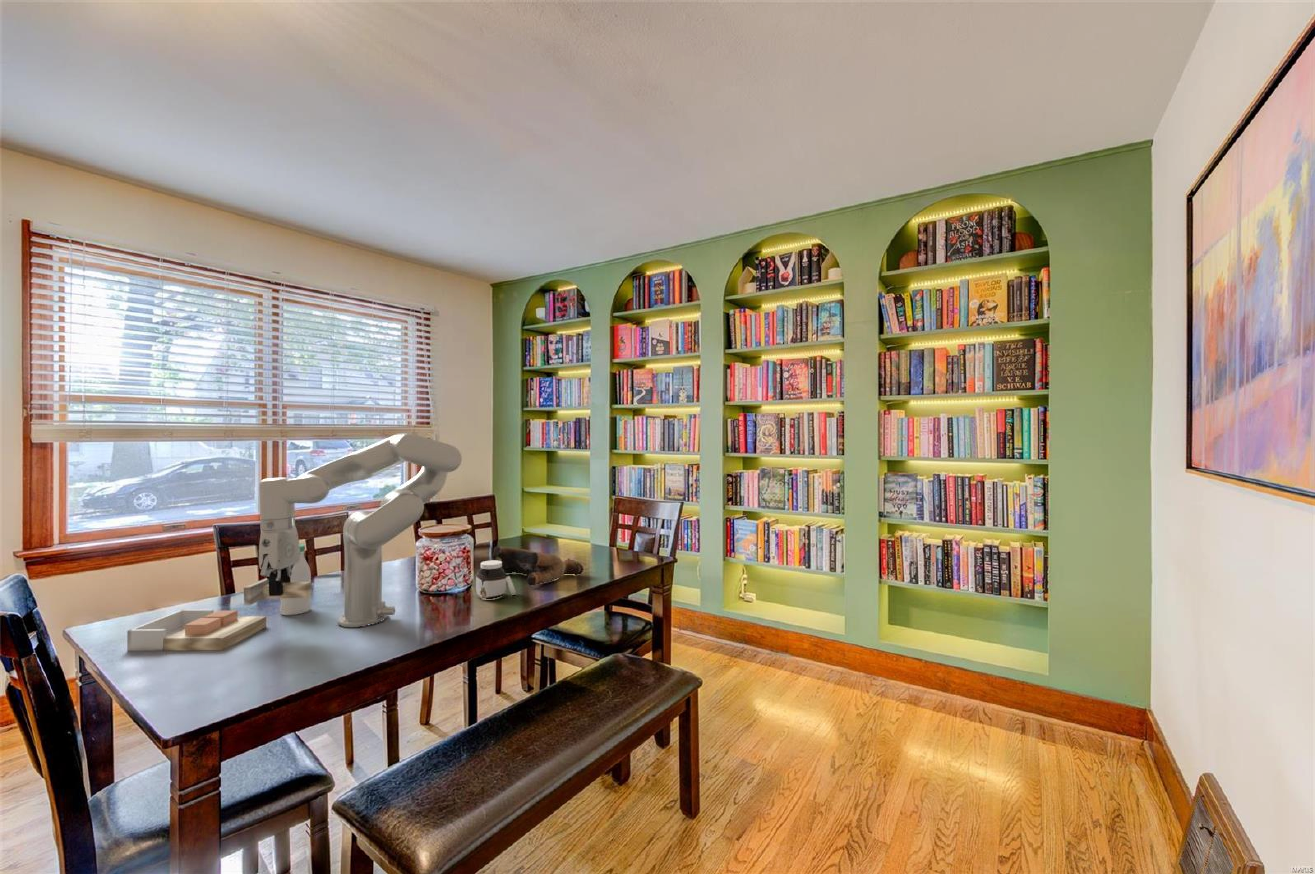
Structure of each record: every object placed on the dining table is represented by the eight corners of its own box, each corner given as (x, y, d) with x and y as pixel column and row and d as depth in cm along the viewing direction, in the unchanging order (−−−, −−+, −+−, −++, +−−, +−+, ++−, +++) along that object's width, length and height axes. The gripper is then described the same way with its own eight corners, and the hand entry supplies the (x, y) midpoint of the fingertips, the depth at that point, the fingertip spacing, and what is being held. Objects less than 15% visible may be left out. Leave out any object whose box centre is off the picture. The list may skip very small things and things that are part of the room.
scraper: (322, 589, 149) (321, 573, 149) (294, 603, 137) (294, 586, 137) (275, 590, 149) (275, 574, 148) (244, 604, 137) (243, 587, 136)
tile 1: (220, 627, 141) (220, 617, 141) (205, 634, 136) (205, 624, 136) (200, 627, 141) (201, 617, 141) (185, 634, 136) (185, 624, 136)
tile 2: (237, 619, 147) (237, 610, 147) (223, 625, 142) (223, 616, 142) (218, 619, 147) (218, 610, 147) (203, 626, 142) (204, 616, 142)
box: (213, 627, 149) (213, 609, 149) (162, 650, 133) (163, 630, 133) (181, 627, 149) (181, 609, 149) (127, 650, 133) (127, 630, 133)
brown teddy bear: (541, 549, 187) (590, 546, 207) (486, 545, 205) (536, 543, 225) (539, 587, 185) (589, 580, 205) (484, 580, 203) (535, 574, 223)
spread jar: (472, 597, 179) (472, 562, 179) (502, 589, 188) (502, 556, 188) (492, 604, 171) (492, 568, 171) (522, 596, 180) (522, 562, 180)
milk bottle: (316, 609, 165) (316, 544, 165) (290, 617, 158) (290, 549, 158) (300, 606, 168) (300, 542, 168) (274, 613, 161) (274, 547, 161)
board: (266, 626, 150) (266, 616, 150) (222, 649, 134) (222, 637, 134) (214, 627, 149) (214, 616, 149) (164, 650, 133) (164, 638, 133)
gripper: (272, 530, 134) (274, 603, 135) (310, 518, 151) (312, 584, 151) (241, 530, 134) (243, 603, 135) (283, 519, 150) (285, 584, 151)
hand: (280, 592), depth 143 cm, fingers closed on scraper, 2 cm apart
